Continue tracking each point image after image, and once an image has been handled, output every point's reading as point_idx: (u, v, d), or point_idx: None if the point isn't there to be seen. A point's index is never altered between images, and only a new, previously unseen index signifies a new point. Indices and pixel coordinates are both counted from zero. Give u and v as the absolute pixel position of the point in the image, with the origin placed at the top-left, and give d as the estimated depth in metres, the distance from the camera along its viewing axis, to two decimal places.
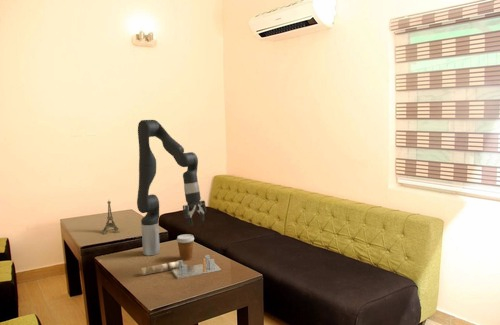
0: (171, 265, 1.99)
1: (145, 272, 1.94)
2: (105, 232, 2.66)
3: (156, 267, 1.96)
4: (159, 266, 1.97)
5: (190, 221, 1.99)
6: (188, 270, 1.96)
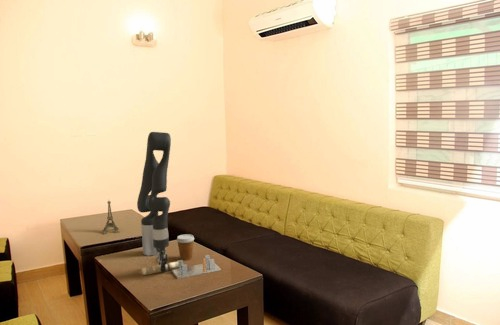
0: (172, 266, 1.99)
1: (145, 273, 1.93)
2: (105, 232, 2.66)
3: (156, 267, 1.96)
4: (159, 267, 1.97)
5: None
6: (188, 270, 1.96)
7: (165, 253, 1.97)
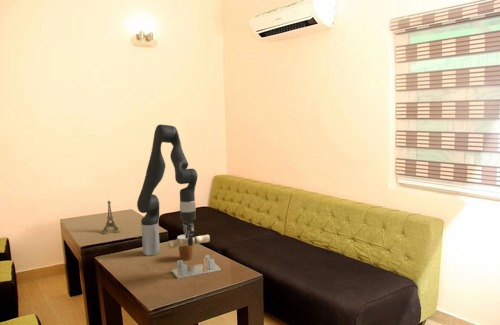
0: (199, 239, 1.96)
1: (172, 245, 1.90)
2: (105, 232, 2.66)
3: (183, 240, 1.93)
4: (186, 240, 1.93)
5: None
6: (188, 270, 1.96)
7: (192, 226, 1.93)
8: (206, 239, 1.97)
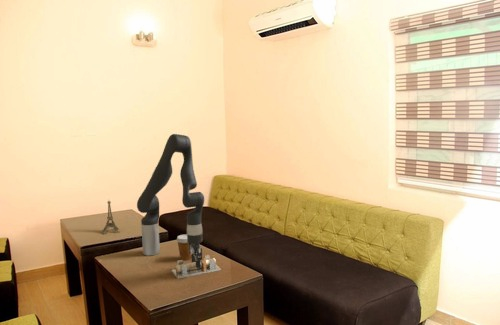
0: None
1: (180, 270, 1.93)
2: (105, 232, 2.66)
3: (190, 265, 1.95)
4: (193, 264, 1.96)
5: None
6: None
7: None
8: None
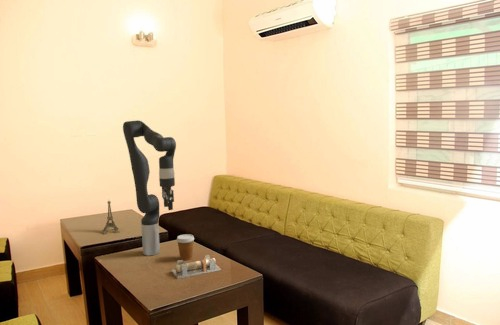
0: None
1: (179, 269, 1.93)
2: (105, 232, 2.66)
3: (190, 264, 1.96)
4: (193, 263, 1.97)
5: None
6: (188, 270, 1.96)
7: None
8: None
